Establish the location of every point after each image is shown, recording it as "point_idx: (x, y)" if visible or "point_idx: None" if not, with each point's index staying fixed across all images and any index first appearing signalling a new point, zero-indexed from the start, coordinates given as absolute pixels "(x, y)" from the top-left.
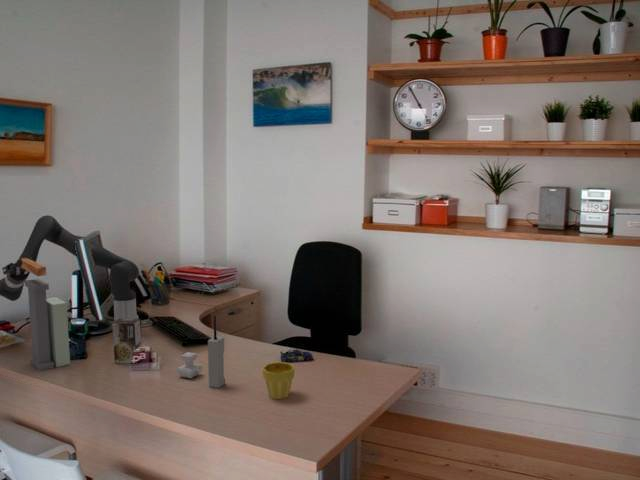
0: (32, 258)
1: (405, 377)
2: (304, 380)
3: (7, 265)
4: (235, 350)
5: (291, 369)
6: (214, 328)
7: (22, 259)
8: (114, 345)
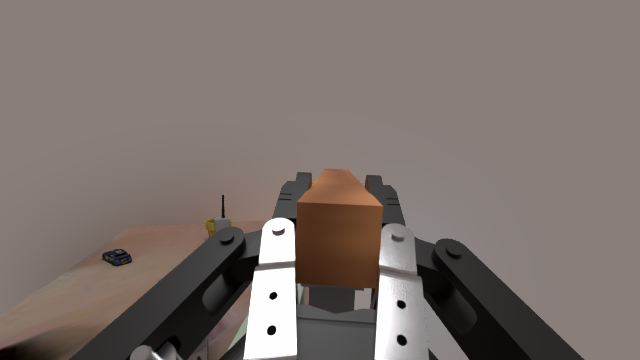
0: (288, 181)
1: (149, 226)
2: (179, 243)
3: (508, 293)
4: (77, 303)
5: (210, 222)
6: (223, 207)
7: (352, 194)
8: (207, 336)
